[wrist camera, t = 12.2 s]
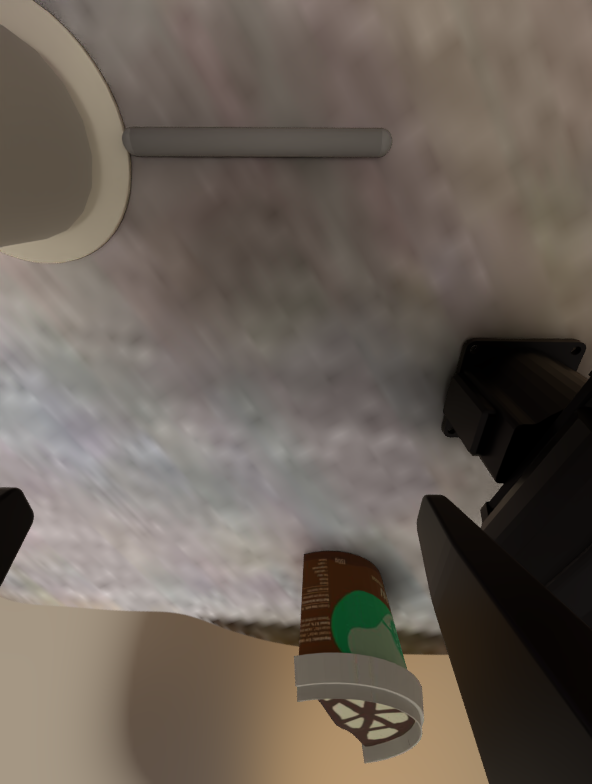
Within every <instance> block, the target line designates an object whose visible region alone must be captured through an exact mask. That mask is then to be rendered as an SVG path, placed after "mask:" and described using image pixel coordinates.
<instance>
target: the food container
mask: <svg viewBox="0 0 592 784" xmlns="http://www.w3.org/2000/svg"><path fill="white" fill-rule="evenodd" d="M294 663H295V683H296V686H297V701H298V702H300V701H307V700H319V702H321V704H322V705H323V707H324V708H325V710H326V711H327V713H328V714H329V716H330V717H331V719H332V720H333V721H334V723H335V724H336V725H337V726H339V727H340V728H342V729H345V730H347V731H349V732H350V733H352V734H353V735H354V736H355V737H356V738H357V739H358V740H359V741H360V742H361V743H362V749H363V756H364V763H371V762H377V761H381V760H386V759H389V758H392V757H395V756H398V755H400V754H403V753H405V752H406V751H408V750H410V749H412V748H413V747H414V746H415V745H417V743H418V742H419V741H420V740H421V737H422V725H423V722H424V713H423V696H422V686H421V684H420V682H419V680H418V679H417V678H416V677H415V676H414V675H413V674H412V673H411V672H409V671H408V670H407V667H406V664H405V661H404V657H403V653H402V650H401V646H400V642H399V639H398V635H397V632H396V628H395V624H394V621H393V617H392V614H391V610H390V606H389V603H388V599H387V596H386V592H385V589H384V585H383V581H382V578H381V575H380V572H379V571H378V569H377V568H376V567H375V566H374V565H373V564H372V563H371V562H369V561H368V560H366V559H365V558H362V557H360V556H358V555H354V554H351V553H346V552H340V551H320V552H313V553H309V554H304V566H303V585H302V605H301V625H300V644H299V656H294Z"/></svg>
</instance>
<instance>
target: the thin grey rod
mask: <svg viewBox="0 0 592 784" xmlns="http://www.w3.org/2000/svg"><path fill="white" fill-rule="evenodd" d="M122 142H123V145H124V147H125V149H126V150H127V151H128V152H129V153H131V154H132V155H135V156H235V157H382V156H384V155H386V154H387V153H388V151H389V150H390V148H391V145H392V137H391V134H390V132H389V131H388V130H386V129H384V128H236V127H129V128H127V129H125V130H124V132H123V134H122Z"/></svg>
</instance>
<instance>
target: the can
mask: <svg viewBox="0 0 592 784" xmlns="http://www.w3.org/2000/svg"><path fill="white" fill-rule="evenodd" d="M91 188H92V153H91V150H90V146H89V142H88V138H87V134H86V130H85V126H84V123H83V119H82V118H81V116H80V114H79V112H78V110H77V108H76V106H75V104H74V102H73V100H72V98H71V96H70V94H69V92H68V91H67V89H66V87H65V85H64V83H63V82H62V81H61V80H60V78H59V77H58V76H57V75H56V74H55V72H54V71H53V70H52V69H51V68H50V66H49V65H48V64H47V63H46V62H45V60H44V59H43V58H42V57H41V55H40V54H39V53H38V52H37V51H36V50H35V49H34V48H32V47H31V46H30V45H28V44H27V43H26V42H24V41H23V40H22V39H20V38H19V37H18V36H16V35H15V34H14V33H12V32H11V31H10V30H8V29H7V28H6V27H4V26H3V25H1V24H0V247H4V246H10V245H15V244H21V243H27V242H32V241H38V240H44V239H48V238H50V237H52V236H55V235H57V234H59V233H62V232H64V231H66V230H68V229H69V228H70V227H71V226H72V225H73V223H74V222H75V221H76V220H77V219H78V218H79V217H80V215H81V214H82V213H83V212H84V209H85V206H86V203H87V200H88V197H89V194H90V191H91Z"/></svg>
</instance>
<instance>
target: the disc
mask: <svg viewBox="0 0 592 784" xmlns="http://www.w3.org/2000/svg"><path fill="white" fill-rule="evenodd" d="M0 24H1V25H3V26H4V27H6V28H7V29H8V30H10V31H11V32H12V33H14V34H15V35H16V36H18V37H19V38H20V39H22V40H23V41H24V42H26V43H27V44H28V45H30V46H31V47H32V48H34V49H35V50H36V51H37V52H38V53H39V54H40V55H41V57H42V58H43V59H44V60H45V62H46V63H47V64H48V65H49V66H50V68H51V69H52V70H53V71H54V72H55V74H56V75H57V76H58V77H59V78H60V80H61V81H62V82H63V83H64V85H65V87H66V89H67V91H68V92H69V94H70V96H71V98H72V100H73V102H74V104H75V106H76V108H77V110H78V112H79V114H80V116H81V118H82V119H83V123H84V126H85V130H86V134H87V138H88V142H89V146H90V150H91V153H92V188H91V191H90V194H89V197H88V200H87V203H86V206H85V209H84V212H83V213H82V214H81V215H80V217H79V218H78V219H77V220H76V221H75V222H74V223H73V225H72V226H71V227H70V228H69V229H68V230H66V231H64V232H62V233H59V234H57V235H55V236H52V237H50V238H48V239H44V240H38V241H32V242H27V243H21V244H15V245H10V246H4V247H0V252H3V253H5V254H7V255H10V256H13V257H16V258H19V259H22V260H26V261H31V262H36V263H48V264H51V263H63V262H68V261H73V260H76V259H79V258H82V257H85V256H87V255H89V254H91V253H93V252H94V251H96V250H98V249H99V248H100V247H102V246H103V245H104V244H105V243H106V242H107V241H108V240H109V239H110V238H111V237H112V235H113V234H114V233H115V232H116V230H117V228H118V226H119V225H120V223H121V221H122V219H123V216H124V214H125V211H126V208H127V204H128V200H129V195H130V188H131V158H130V153H129V152H128V151H127V150H126V149H125V147H124V145H123V142H122V134H123V132H124V130H125V127H124V123H123V120H122V118H121V115H120V112H119V109H118V106H117V104H116V102H115V99H114V97H113V95H112V93H111V91H110V89H109V86H108V85H107V83H106V81H105V79H104V78H103V76H102V74H101V72H100V71H99V69H98V67H97V66H96V64H95V63H94V62H93V60H92V59H91V57H90V56H89V54H88V53H87V52H86V50H85V49H84V48H83V47H82V45H81V44H80V43H79V42H78V41H77V40H76V38H75V37H74V36H73V35H72V34H71V33H70V31H69V30H67V29H66V28H65V27H64V26H63V25H62V24H61V23H60V22H59V21H58V20H57V19H56V18H55V17H54V16H53V15H51V14H50V13H49V12H47V11H46V10H45V9H44V8H42V7H41V6H40V5H38V4H37V3H36V2H34V1H33V0H0Z"/></svg>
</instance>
